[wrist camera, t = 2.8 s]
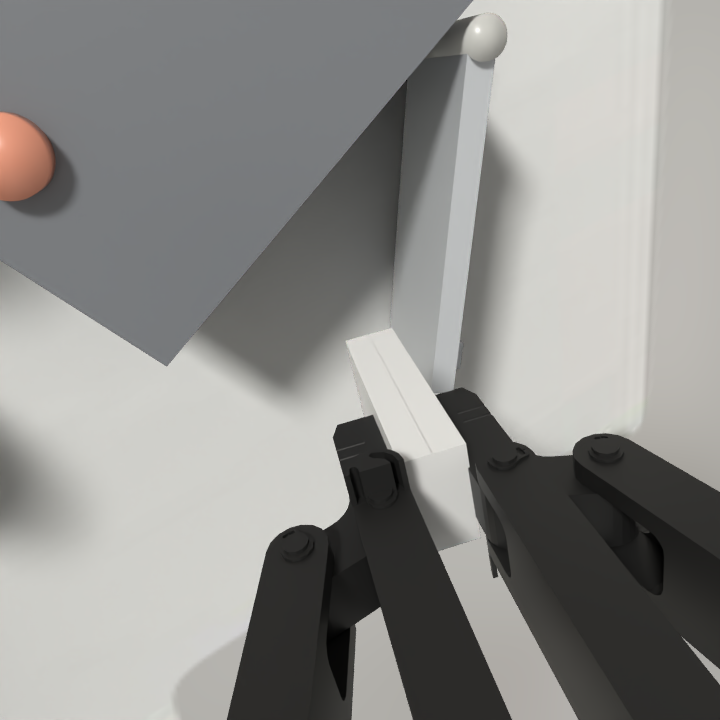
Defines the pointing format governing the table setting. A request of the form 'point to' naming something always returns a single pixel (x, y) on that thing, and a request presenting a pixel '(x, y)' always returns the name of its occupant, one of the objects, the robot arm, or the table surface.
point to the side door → (442, 193)
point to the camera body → (181, 139)
